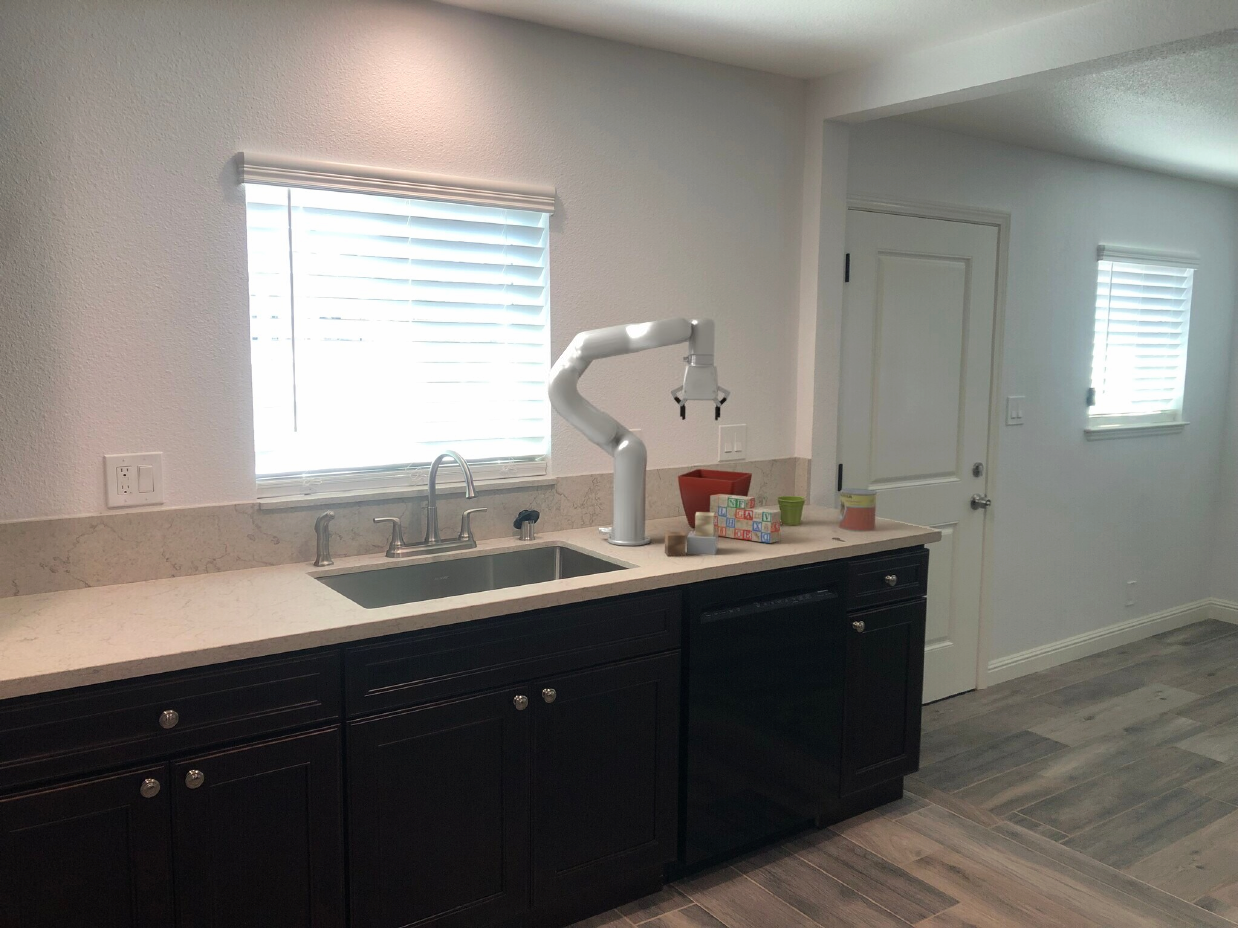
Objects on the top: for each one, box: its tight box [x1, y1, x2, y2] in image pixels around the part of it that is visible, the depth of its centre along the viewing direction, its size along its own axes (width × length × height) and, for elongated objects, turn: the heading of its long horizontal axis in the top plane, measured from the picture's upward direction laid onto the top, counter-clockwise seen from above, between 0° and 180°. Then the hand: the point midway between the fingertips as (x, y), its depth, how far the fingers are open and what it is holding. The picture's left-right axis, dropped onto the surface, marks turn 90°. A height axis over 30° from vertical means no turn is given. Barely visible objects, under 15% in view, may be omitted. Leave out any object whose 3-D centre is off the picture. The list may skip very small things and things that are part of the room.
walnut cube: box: [664, 531, 687, 558], centre depth 262 cm, size 5×5×6 cm
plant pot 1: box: [677, 468, 753, 528], centre depth 302 cm, size 19×19×17 cm
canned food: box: [838, 488, 877, 533], centre depth 301 cm, size 11×11×12 cm
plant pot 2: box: [776, 495, 807, 527], centre depth 307 cm, size 9×9×9 cm
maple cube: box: [694, 512, 714, 537], centre depth 266 cm, size 5×5×6 cm
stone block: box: [685, 530, 719, 556], centre depth 266 cm, size 8×8×5 cm
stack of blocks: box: [710, 494, 781, 544], centre depth 284 cm, size 21×6×12 cm, turn 52°
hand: (700, 419), depth 275 cm, fingers open, 9 cm apart
